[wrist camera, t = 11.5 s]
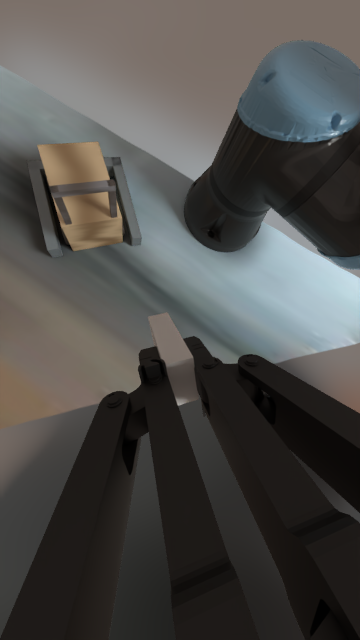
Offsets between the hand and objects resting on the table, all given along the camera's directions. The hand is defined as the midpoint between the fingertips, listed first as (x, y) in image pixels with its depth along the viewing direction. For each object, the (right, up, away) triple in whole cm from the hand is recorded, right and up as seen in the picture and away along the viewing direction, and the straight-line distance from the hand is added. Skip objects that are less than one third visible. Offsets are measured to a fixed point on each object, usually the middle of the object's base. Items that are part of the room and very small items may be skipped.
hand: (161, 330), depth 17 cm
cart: (-14, +19, +20) cm, 31 cm away
